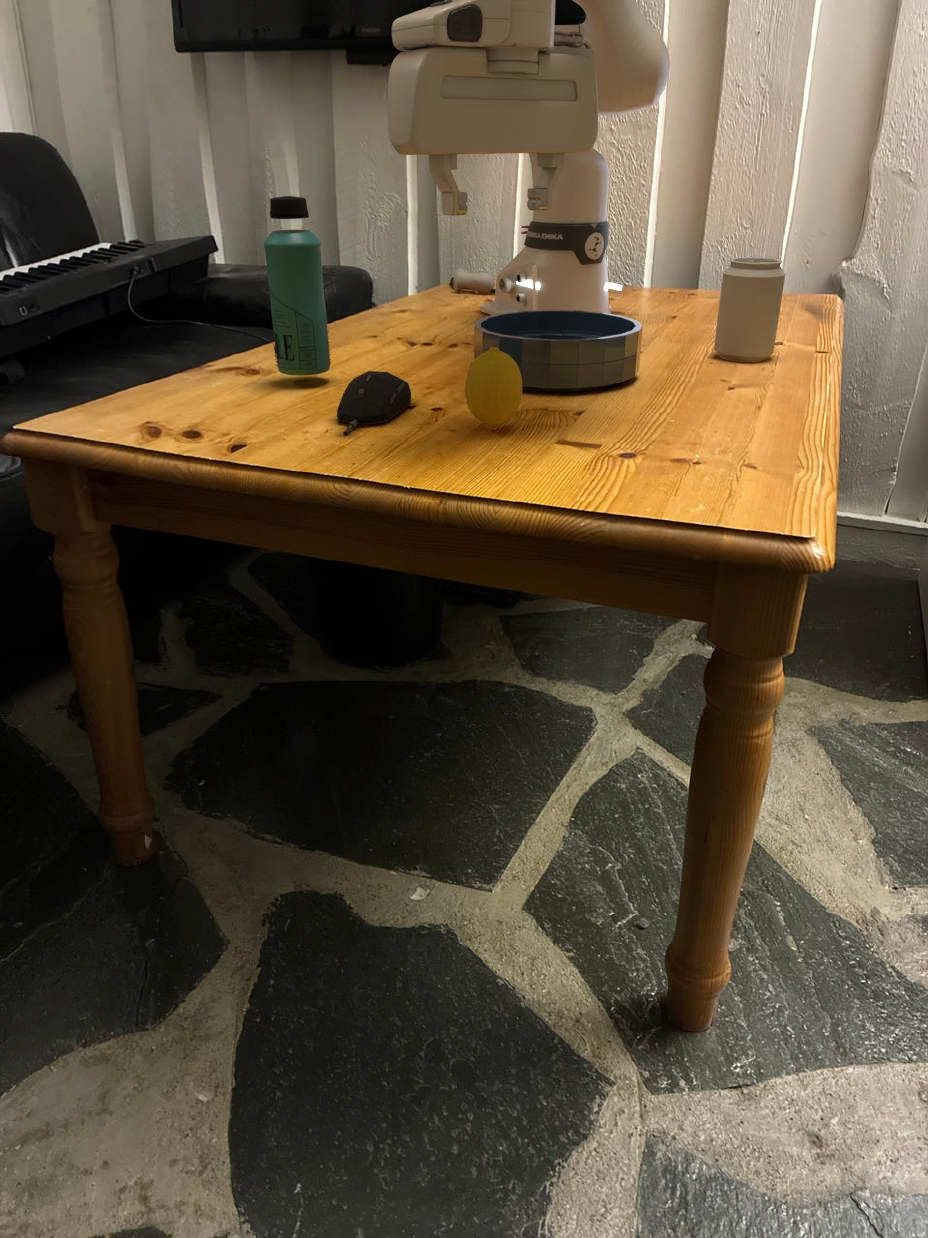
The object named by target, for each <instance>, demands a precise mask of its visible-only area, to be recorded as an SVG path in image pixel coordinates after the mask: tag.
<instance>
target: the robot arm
mask: <svg viewBox="0 0 928 1238" xmlns="http://www.w3.org/2000/svg"><path fill="white" fill-rule="evenodd" d="M571 1H573V2H574V3H575V4H577V5H579V6H580V8H582V10H583V12H584V14H585V19H584V21H583V22H582V23H579V24H555V21H556V0H441V1H437V2H434V3H432V4H430V5H429V6H428V7H425V8H422V9H420V10H416V11H414V12H411V13H409V14H405V15H402V16H400V17H398V18H396V19H395V20H394V21H392V25H391V39H392V40H391V41H392V44H393V46H394V48H395V49H396V50H398V51H401V52H400V53H398V54H397V55H396V56H395V57H394V59H393V60H392V63H391V65H390V69H389V73H388V83H387V84H388V85H387V133H388V139H389V142H390V143H391V145H392V147H393V149H394V150H395V152H396V153H397V154H399V155H401V156H423V155H424V156H428V163H429V164H428V168H429V169H428V170H429V173H430V175H431V176H432V178H433V180H434V182H435V184H436V186H437V188H438V191H439V192H440V193H441V213H442V214H443V215H444V216H451V217H452V216H453V217H454V216H465V215H467V214H468V205H467V203H468V192H467V191H460V189H459V187H458V183H457V181H456V179H455V176H454V174H453V172H452V171H456V170H457V169H458V155H493V154H495V155H496V154H498V155H500V154H501V155H502V154H528V157H529V161H530V167H531V178H532V188H531V187H530V188H527V193H526V195H527V196H526V197H527V202H526V206H527V209H528V210H529V211H532V220H531V221H530V222H529V225H521V227H520V229H527V230H525V231H521V232H520V234H521V235H526V236H525V239H524V241H523V242H524V243H523V245H524V247H523V248H522V250H520V251H519V252H518V254H516V255H515V256H514V257H513V258H512V259H511V260H510V261H509V262H508V263H507V264H506V265H505V266H504V267H503V268H502V269H500V271H499V272H498V274H497V277H496V281H495V288H493V289H492V290H491V291H490V292H489V293H488V294H494V301H489V302H486V303H482V304H481V305H480V310H479V311H480V312H482V313H484V314H487V315H489V316H491V315H495V314H501V313H508V312H517V311H532V310H575V311H591V312H600V313H609V314H612V306H611V305H610V303H609V302H610V301H609V289H611V290H615V291H622V290H623V285H622V284H618V283H613V282H609V278H608V277H609V276H608V275H609V274H608V261H607V257H606V249H607V248H608V247H609V236H610V222H609V221H608V220H607V216H608V215H607V214H608V199H609V185H610V184H609V182H610V168H609V165H608V162H607V160H606V158H605V157H604V155H602V153H600V152H599V150H596V149H595V148H594V146H595V145H596V143H597V140H598V137H599V116H623V115H628V114H633V113H637V112H640V111H644V110H649V109H651V108H652V107H654V105H655V104H656V103H657V102H658V101H659V99H660V98H661V96H662V94H663V93H664V91H665V89H666V86H667V83H668V80H669V76H670V75H669V74H670V55H669V54H670V53H669V50H668V47H667V45H666V42H665V40H664V38H663V37H662V35H661V34H660V33H659V31H657V30H656V29H655V27H653V26H652V25H651V24H650V23H649V21H648V20H647V19H646V18H645V16H644V15H643V13H642V11H641V9H640V7H639V6H638V4H637V1H636V0H571ZM453 282H454V276H452V277H451V278H450V281H449V285H451V286H452V287H453ZM464 290H465V291H471V290H470V289H464Z"/></svg>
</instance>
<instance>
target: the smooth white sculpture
mask: <svg viewBox="0 0 928 1238" xmlns="http://www.w3.org/2000/svg"><path fill="white" fill-rule="evenodd" d="M453 277H454V282H453V286H452V287H453V290H455V292H457V293H460V292H461V291H462V290H465V289H470V290H469V291H472V292H474V294H477V295H480V294H490V293H489V292H490V291H491V290H492V289H495V287H496V281H495V278H494V277H493V276H492V274H490V273H489V272H488V273H487V272H484V270H477V272H476V273H468V272H466V271H464V269H463V268H462V267H460V268H458V269H456V270H455V273H454V276H453Z"/></svg>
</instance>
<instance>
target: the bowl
mask: <svg viewBox="0 0 928 1238" xmlns="http://www.w3.org/2000/svg"><path fill="white" fill-rule="evenodd" d="M643 328H644V325H642V324H641V323H640V322H639V321H638V320H636V319H633V318H631V317H628V316H624V315H619V314H613V313H611V314H609V313H600V312H591V311H575V310H532V311H517V312H508V313H501V314H495V315H487V316H484V317H481V318H479V319H478V320H476V321H474V322H473V330H474V331H473V345H474V346H473V352H474V353H473V356H474V358H473V361H474V360H475V359H476V358H477V357H478V356H479V355H480V354H482V353H484V352H487V351H488V350H489V349H490V348H491V347H497V348H498V349H499V350H500V351H502V352H504V353H506V354H508V355H509V356H510V357H511V358H512V359H513V360H514V361H515V362H516V364H517V365H518V367H519V370H520V373H521V378H522V390H528V391H538V392H560V393H561V392H581V391H582V392H583V391H590V390H591V391H593V390H597V389H603V388H606V387H610V386H613V385H615V384H620V383H623V382H625V381H628V380H630V379H633V378H635V377H636V376H637V375H638V373H639V371H640V365H641V364H640V363H641V350H642V339H643Z"/></svg>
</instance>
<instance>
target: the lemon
mask: <svg viewBox="0 0 928 1238" xmlns="http://www.w3.org/2000/svg"><path fill="white" fill-rule="evenodd" d="M466 373H467V374H466V377H465V385H464V386H465V387H464V393H465V394H464V395H465V401H466V406H467V408H468V410H469V412H470V413H471V416H473V417H474V419H476V420H477V421H478V422H480V423H482V424H484V425H485V426H486V427H487V428H488V429H489V430H491V431H496V430H497V429H499V427H500V426H502V424H505V423H507V422H508V421H510V420H511V419H512V418H514V416H515V415H516V414H517V413H518V410H519V408H520V406H521V402H522V397H523V389H522V378H521V373H520V370H519V367H518V365H517V364H516V362H515V361H514V360H513V359H512V358H511V357H510V356H509V355H508V354H506V353H504V352H502V351H500V350H499V349H498V348H497V347H491V348H490V349H489V350H488V351H487V352H484V353H482V354H480V355H479V356H478V357H477V358H476V359H475V360H474V359H473V361H472V362H471V364H470V365H469V367H468V370H467V372H466Z"/></svg>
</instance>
